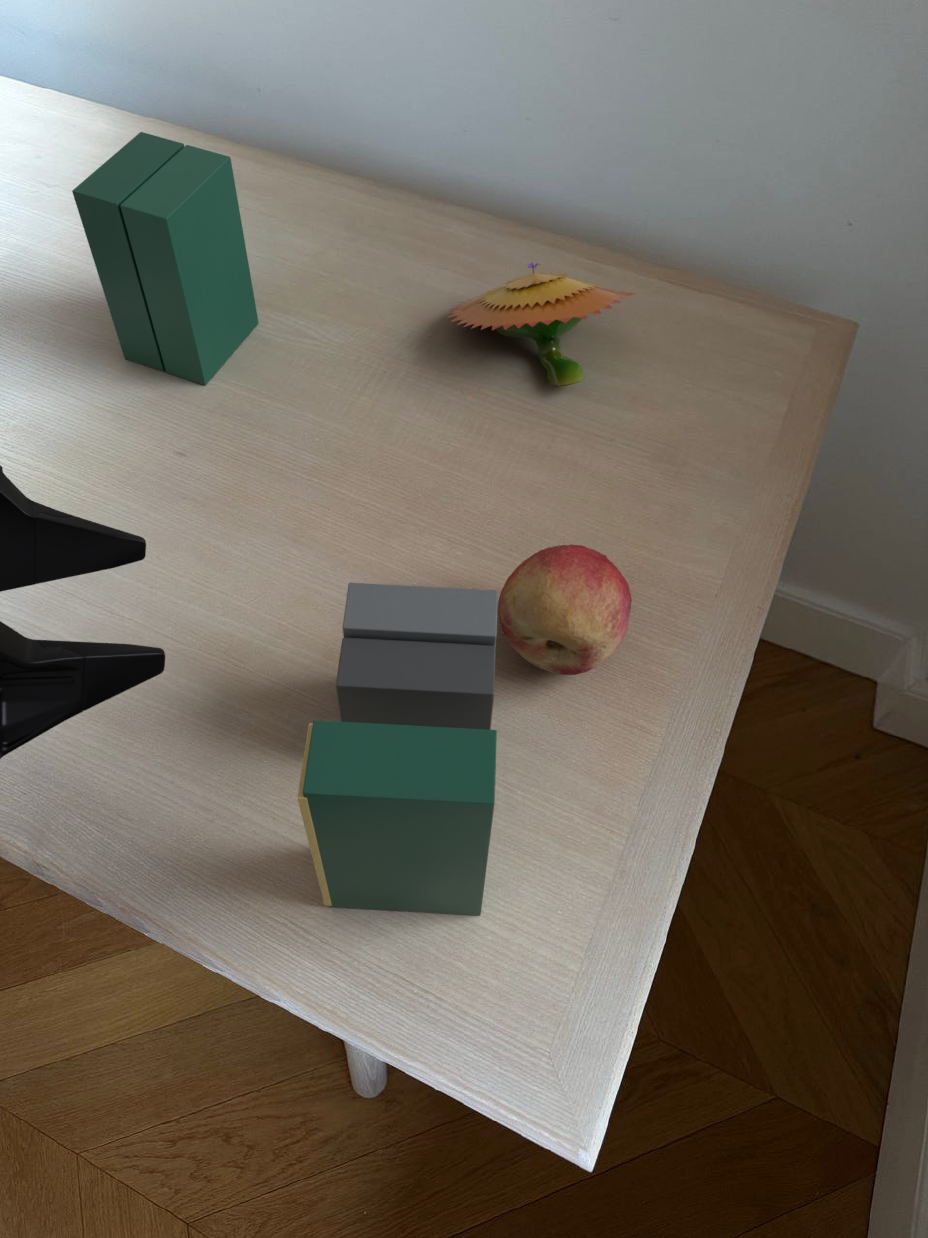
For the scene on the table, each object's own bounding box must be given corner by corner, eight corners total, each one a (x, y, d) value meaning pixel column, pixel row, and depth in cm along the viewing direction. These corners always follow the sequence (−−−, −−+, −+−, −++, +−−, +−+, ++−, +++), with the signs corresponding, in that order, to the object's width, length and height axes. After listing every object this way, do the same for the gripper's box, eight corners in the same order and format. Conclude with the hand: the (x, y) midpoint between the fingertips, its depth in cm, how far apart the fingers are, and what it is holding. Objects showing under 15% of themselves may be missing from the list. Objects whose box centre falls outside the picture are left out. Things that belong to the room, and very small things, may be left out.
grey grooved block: (347, 767, 58) (334, 680, 50) (358, 675, 62) (348, 581, 54) (485, 774, 58) (494, 689, 50) (489, 682, 61) (498, 589, 54)
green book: (324, 908, 53) (296, 794, 42) (333, 844, 55) (307, 718, 44) (480, 917, 53) (494, 805, 42) (482, 852, 55) (497, 728, 44)
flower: (674, 345, 80) (661, 232, 76) (597, 396, 70) (578, 271, 67) (515, 356, 88) (496, 255, 85) (427, 403, 79) (403, 292, 75)
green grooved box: (205, 385, 76) (166, 218, 64) (124, 358, 77) (71, 190, 66) (259, 323, 80) (230, 156, 69) (181, 298, 82) (140, 131, 70)
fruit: (471, 645, 63) (476, 566, 56) (552, 577, 66) (566, 495, 60) (565, 723, 60) (582, 649, 53) (645, 647, 63) (670, 569, 57)
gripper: (-362, 551, 29) (192, 558, 35) (-235, 323, 43) (145, 357, 49) (-292, 825, 35) (172, 790, 41) (-201, 546, 49) (135, 552, 55)
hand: (154, 600), depth 47 cm, fingers open, 9 cm apart
